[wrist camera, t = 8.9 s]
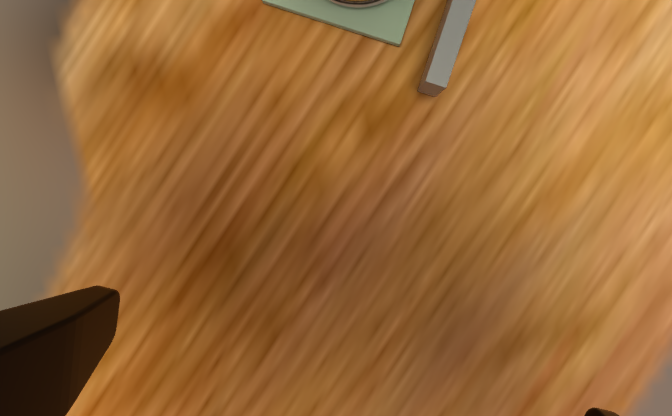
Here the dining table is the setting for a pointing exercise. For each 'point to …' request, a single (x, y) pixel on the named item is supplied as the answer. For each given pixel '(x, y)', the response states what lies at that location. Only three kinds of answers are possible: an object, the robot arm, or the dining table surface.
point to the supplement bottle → (358, 3)
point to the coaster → (356, 16)
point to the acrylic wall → (446, 46)
